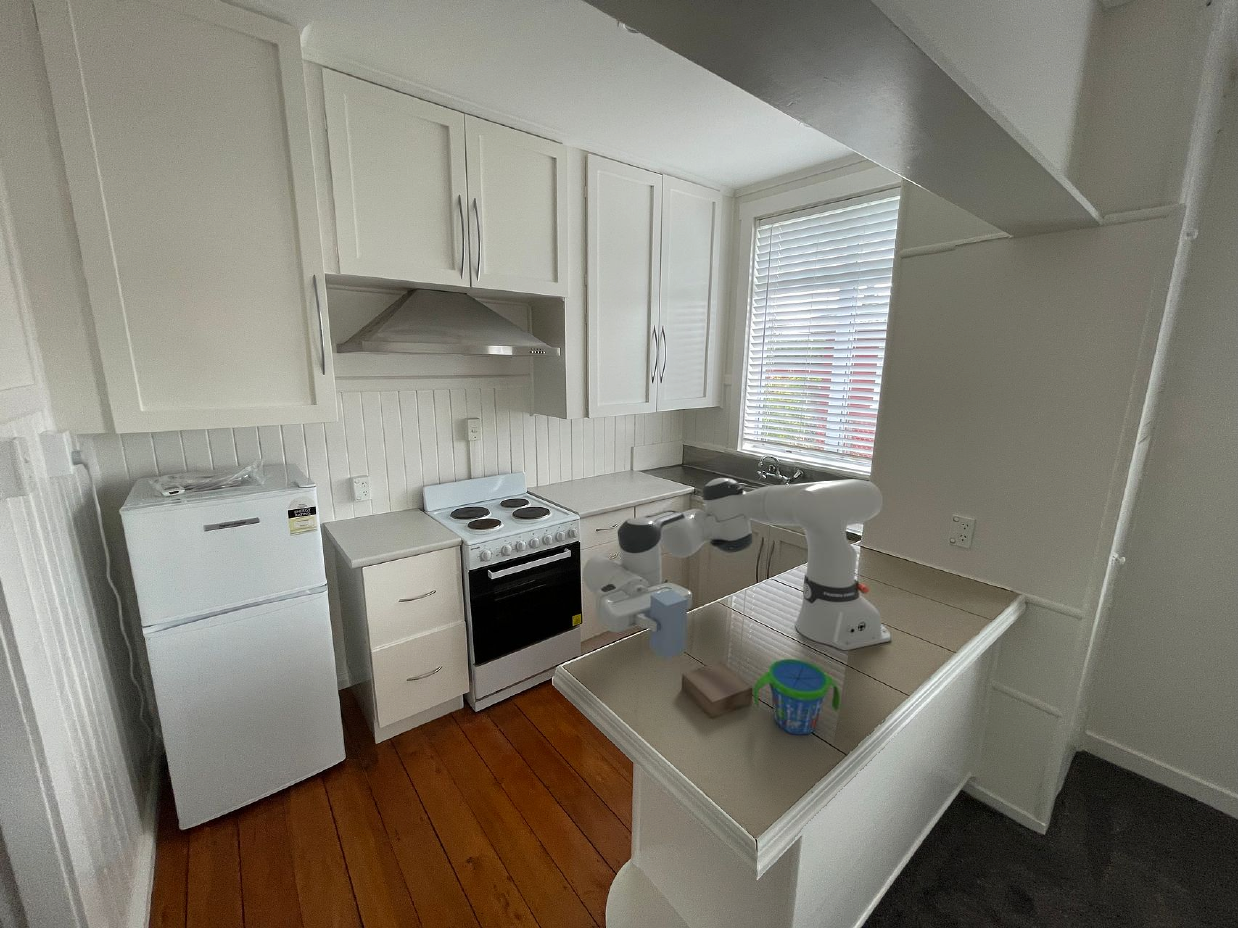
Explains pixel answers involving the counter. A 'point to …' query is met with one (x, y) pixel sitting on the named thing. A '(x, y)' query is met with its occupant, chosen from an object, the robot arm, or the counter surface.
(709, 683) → the walnut base
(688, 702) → the counter surface
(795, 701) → the snack cup
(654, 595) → the pillar
